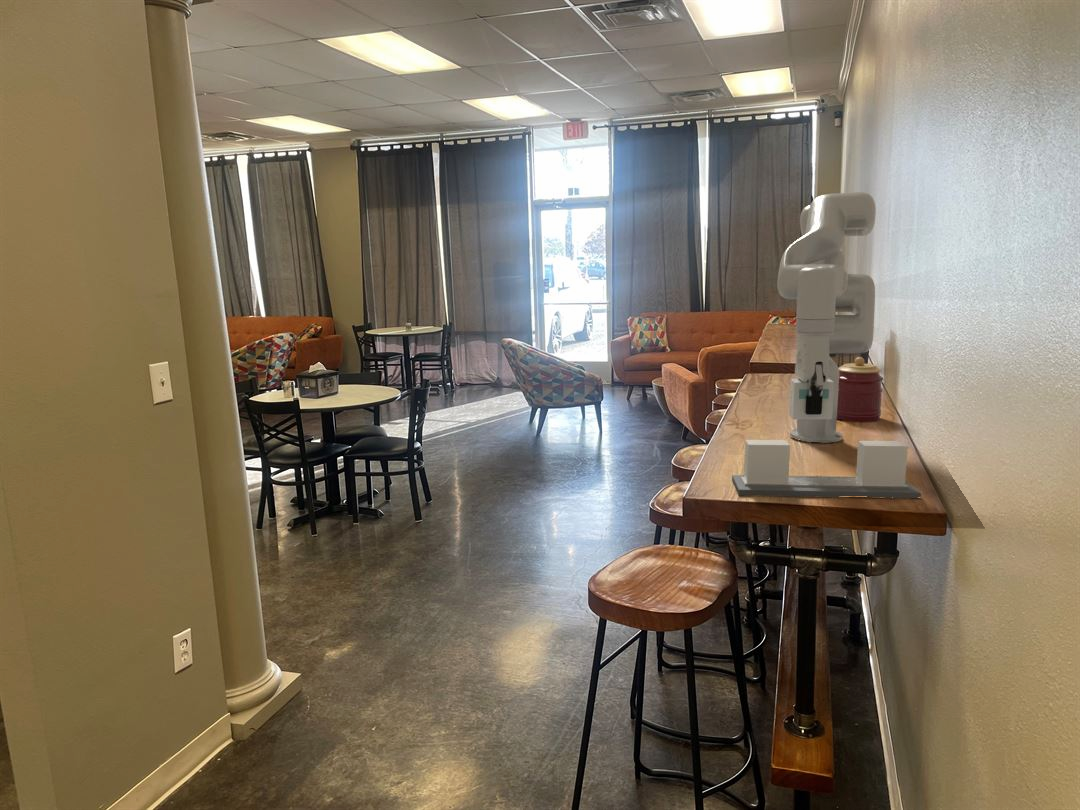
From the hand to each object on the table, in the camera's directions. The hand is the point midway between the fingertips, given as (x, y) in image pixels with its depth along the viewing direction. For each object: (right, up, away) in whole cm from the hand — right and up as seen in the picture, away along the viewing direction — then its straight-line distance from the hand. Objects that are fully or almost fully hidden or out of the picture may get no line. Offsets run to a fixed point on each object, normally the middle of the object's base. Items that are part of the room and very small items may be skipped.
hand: (810, 410), depth 156 cm
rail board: (-2, -16, -10) cm, 19 cm away
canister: (+33, -3, +53) cm, 63 cm away
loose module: (0, -1, 0) cm, 1 cm away
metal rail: (-2, -15, -10) cm, 18 cm away
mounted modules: (-2, -14, -11) cm, 18 cm away
